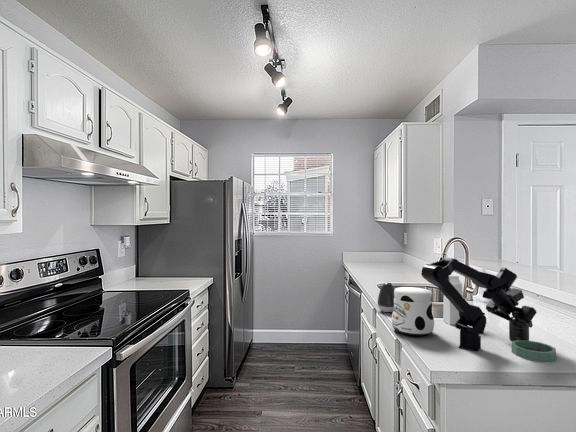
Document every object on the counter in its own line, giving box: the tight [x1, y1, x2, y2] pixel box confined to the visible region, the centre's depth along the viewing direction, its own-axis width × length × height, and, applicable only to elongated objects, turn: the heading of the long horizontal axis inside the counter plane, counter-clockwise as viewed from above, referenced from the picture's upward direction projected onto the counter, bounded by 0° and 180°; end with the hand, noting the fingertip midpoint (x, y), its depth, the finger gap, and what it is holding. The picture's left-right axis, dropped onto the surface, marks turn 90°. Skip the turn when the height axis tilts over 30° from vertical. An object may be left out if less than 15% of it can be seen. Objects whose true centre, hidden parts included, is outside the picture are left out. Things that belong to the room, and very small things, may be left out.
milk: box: [442, 275, 463, 326], centre depth 172 cm, size 6×6×22 cm
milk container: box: [391, 286, 435, 337], centre depth 157 cm, size 17×17×18 cm
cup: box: [511, 339, 557, 363], centre depth 132 cm, size 13×13×3 cm
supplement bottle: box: [508, 312, 530, 342], centre depth 147 cm, size 7×7×12 cm
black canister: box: [377, 282, 395, 313], centre depth 192 cm, size 10×10×15 cm
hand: (520, 323), depth 147 cm, fingers open, 9 cm apart
